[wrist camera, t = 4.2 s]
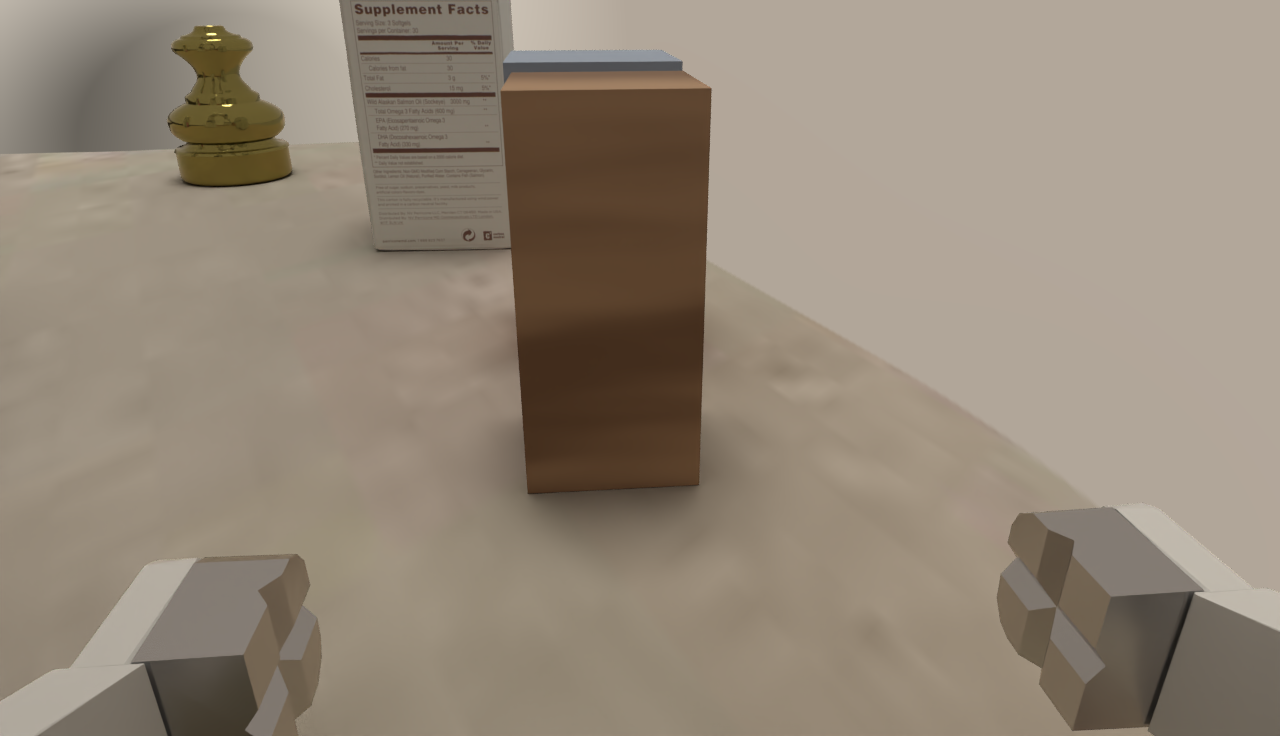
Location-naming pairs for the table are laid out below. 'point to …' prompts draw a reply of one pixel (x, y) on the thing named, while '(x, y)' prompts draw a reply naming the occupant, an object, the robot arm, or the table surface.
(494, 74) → the supplement box
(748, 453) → the table surface
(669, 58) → the slate block
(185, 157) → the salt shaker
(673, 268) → the walnut block
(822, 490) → the table surface
